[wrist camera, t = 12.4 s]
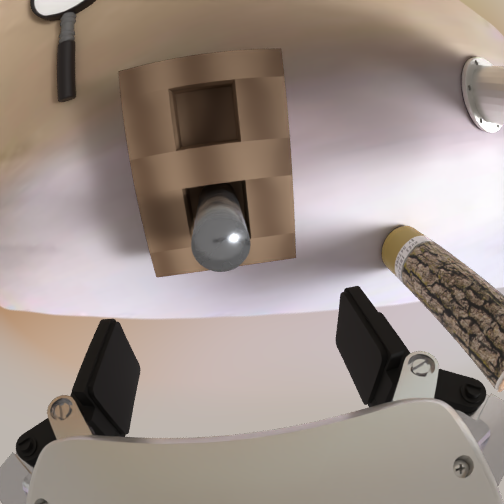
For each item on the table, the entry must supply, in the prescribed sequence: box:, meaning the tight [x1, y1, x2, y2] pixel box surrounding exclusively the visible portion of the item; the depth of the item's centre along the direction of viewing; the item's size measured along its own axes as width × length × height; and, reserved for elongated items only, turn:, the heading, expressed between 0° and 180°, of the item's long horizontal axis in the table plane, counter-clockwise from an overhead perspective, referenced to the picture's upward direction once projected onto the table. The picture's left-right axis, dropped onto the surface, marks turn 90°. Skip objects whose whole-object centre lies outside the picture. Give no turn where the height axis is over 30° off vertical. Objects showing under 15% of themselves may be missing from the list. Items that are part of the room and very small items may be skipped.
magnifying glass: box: [30, 0, 96, 102], centre depth 18 cm, size 12×24×2 cm, turn 4°
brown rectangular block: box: [119, 49, 296, 277], centre depth 26 cm, size 14×20×6 cm
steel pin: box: [191, 183, 251, 272], centre depth 25 cm, size 4×4×12 cm
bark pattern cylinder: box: [382, 226, 504, 392], centre depth 26 cm, size 7×7×25 cm
